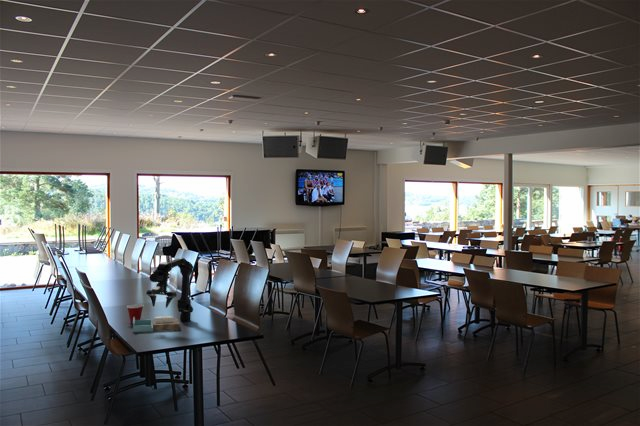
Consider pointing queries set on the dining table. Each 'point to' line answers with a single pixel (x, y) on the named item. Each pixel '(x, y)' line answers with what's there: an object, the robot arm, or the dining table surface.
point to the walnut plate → (166, 325)
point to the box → (142, 325)
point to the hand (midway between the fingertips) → (159, 307)
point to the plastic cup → (135, 311)
